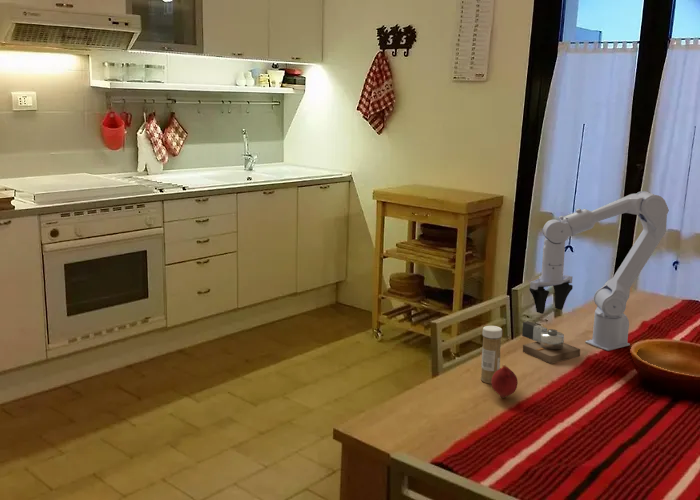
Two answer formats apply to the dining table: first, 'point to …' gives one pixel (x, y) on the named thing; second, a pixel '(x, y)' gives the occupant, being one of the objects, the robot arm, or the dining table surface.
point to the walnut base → (551, 352)
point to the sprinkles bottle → (490, 352)
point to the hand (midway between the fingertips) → (549, 310)
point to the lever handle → (543, 335)
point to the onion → (504, 381)
